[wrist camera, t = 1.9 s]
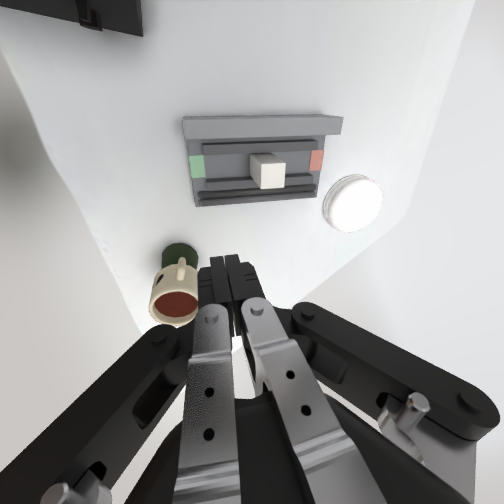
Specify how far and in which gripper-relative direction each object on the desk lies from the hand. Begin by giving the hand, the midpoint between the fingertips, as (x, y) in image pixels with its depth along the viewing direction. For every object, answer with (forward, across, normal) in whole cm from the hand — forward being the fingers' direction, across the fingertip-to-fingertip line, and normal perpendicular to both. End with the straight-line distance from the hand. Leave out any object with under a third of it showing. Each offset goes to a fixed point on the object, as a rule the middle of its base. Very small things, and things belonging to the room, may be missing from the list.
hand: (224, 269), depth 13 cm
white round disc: (+27, -26, +8) cm, 38 cm away
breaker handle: (+25, -8, 0) cm, 26 cm away
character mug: (+27, +6, +16) cm, 32 cm away
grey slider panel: (+27, -8, 0) cm, 28 cm away
